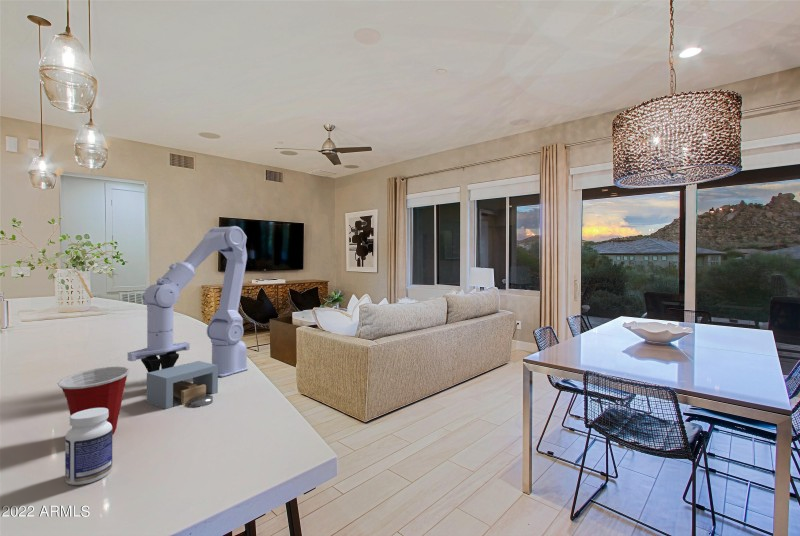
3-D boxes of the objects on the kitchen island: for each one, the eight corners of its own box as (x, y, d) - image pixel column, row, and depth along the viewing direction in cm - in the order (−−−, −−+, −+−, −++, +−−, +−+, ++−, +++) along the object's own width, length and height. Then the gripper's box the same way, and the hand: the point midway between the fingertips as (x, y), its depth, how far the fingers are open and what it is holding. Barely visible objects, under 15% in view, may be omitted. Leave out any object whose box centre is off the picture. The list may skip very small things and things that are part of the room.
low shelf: (198, 387, 102) (198, 360, 102) (217, 392, 98) (217, 365, 98) (146, 402, 90) (146, 372, 90) (166, 408, 87) (166, 378, 86)
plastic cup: (45, 441, 71) (46, 376, 70) (112, 420, 80) (112, 363, 80) (74, 455, 66) (74, 386, 65) (141, 431, 75) (141, 370, 75)
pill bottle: (121, 466, 62) (121, 406, 62) (91, 487, 57) (92, 420, 56) (87, 465, 62) (87, 405, 62) (54, 486, 57) (54, 419, 57)
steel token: (205, 398, 94) (205, 393, 94) (217, 402, 91) (217, 397, 91) (184, 404, 90) (184, 399, 90) (195, 409, 87) (196, 404, 87)
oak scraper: (163, 385, 103) (164, 372, 103) (205, 397, 94) (206, 383, 94) (141, 391, 98) (141, 377, 98) (183, 404, 89) (183, 389, 89)
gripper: (178, 325, 107) (178, 373, 107) (120, 333, 94) (120, 388, 95) (194, 327, 104) (194, 377, 104) (136, 336, 91) (136, 393, 91)
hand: (160, 382), depth 99 cm, fingers closed on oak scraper, 2 cm apart
